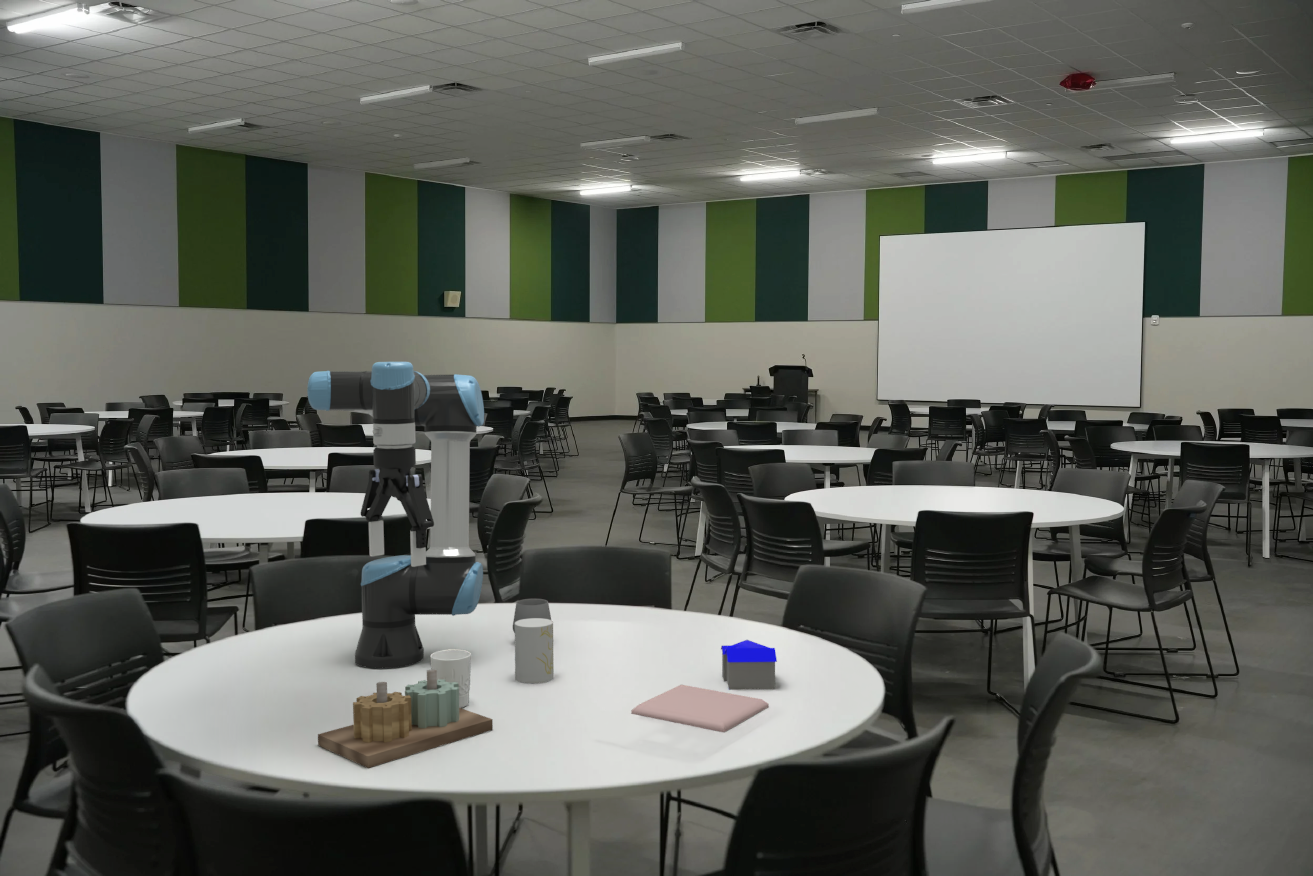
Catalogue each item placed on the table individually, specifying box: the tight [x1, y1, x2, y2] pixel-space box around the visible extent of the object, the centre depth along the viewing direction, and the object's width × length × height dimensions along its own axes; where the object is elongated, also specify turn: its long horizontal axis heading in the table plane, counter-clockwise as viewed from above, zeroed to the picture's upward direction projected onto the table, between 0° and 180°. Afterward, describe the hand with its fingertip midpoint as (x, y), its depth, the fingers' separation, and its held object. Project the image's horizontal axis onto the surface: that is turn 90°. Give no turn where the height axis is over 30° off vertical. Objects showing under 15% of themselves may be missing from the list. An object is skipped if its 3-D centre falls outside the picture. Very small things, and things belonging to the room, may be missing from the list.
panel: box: [630, 684, 770, 733], centre depth 206 cm, size 35×33×2 cm
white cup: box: [429, 648, 472, 709], centre depth 215 cm, size 8×8×10 cm
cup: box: [512, 598, 552, 634], centre depth 263 cm, size 10×9×10 cm
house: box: [720, 639, 778, 691], centre depth 230 cm, size 11×11×8 cm
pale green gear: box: [404, 679, 459, 728], centre depth 200 cm, size 10×10×6 cm
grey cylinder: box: [514, 618, 555, 685], centre depth 233 cm, size 8×8×12 cm
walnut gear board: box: [317, 669, 494, 769], centre depth 196 cm, size 16×26×11 cm, turn 137°
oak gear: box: [352, 691, 412, 743], centre depth 193 cm, size 10×10×6 cm
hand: (397, 560), depth 203 cm, fingers open, 13 cm apart
